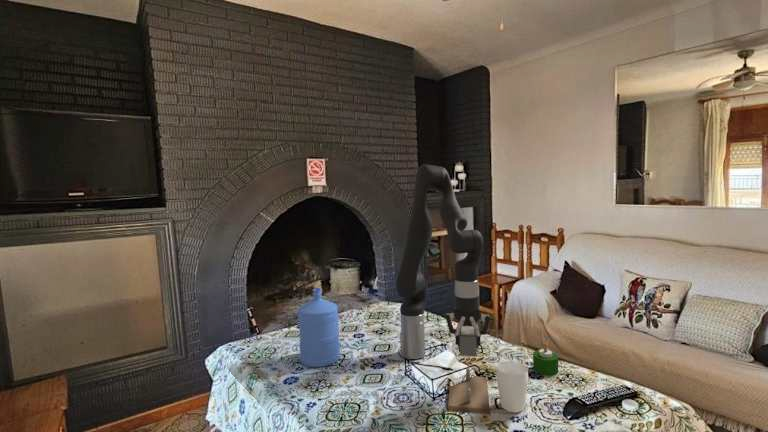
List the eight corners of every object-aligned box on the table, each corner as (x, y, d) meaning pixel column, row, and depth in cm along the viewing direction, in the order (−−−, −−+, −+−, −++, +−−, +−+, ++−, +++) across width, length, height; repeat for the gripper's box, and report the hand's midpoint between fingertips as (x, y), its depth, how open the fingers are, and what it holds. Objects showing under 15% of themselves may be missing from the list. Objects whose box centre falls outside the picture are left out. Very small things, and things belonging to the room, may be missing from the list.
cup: (492, 399, 120) (491, 362, 119) (520, 397, 120) (520, 359, 119) (503, 416, 111) (503, 376, 110) (534, 414, 111) (533, 374, 110)
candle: (557, 366, 140) (557, 339, 139) (559, 377, 132) (559, 348, 131) (532, 363, 142) (532, 337, 142) (533, 374, 135) (533, 346, 134)
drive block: (459, 355, 118) (459, 336, 117) (460, 342, 127) (459, 324, 127) (476, 356, 117) (476, 336, 116) (475, 343, 126) (475, 324, 126)
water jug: (348, 357, 153) (345, 288, 150) (316, 372, 141) (312, 297, 139) (323, 347, 163) (320, 282, 161) (292, 360, 152) (288, 290, 150)
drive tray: (448, 409, 115) (448, 392, 115) (450, 378, 134) (450, 363, 133) (490, 413, 113) (489, 396, 112) (486, 380, 131) (486, 365, 131)
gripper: (443, 296, 118) (444, 350, 120) (491, 297, 116) (492, 352, 117) (444, 290, 126) (445, 340, 127) (489, 290, 123) (490, 342, 124)
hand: (468, 346), depth 122 cm, fingers closed on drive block, 5 cm apart
